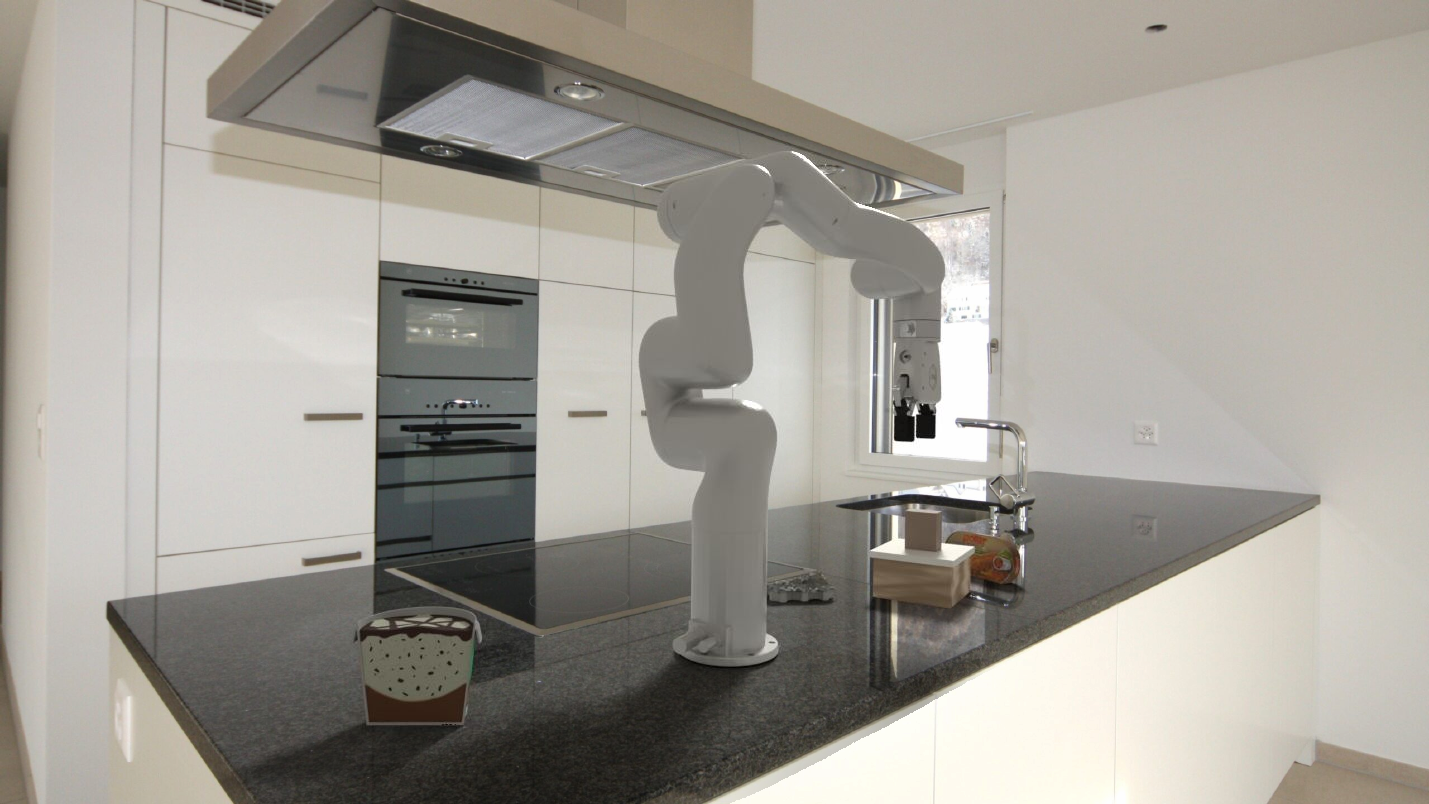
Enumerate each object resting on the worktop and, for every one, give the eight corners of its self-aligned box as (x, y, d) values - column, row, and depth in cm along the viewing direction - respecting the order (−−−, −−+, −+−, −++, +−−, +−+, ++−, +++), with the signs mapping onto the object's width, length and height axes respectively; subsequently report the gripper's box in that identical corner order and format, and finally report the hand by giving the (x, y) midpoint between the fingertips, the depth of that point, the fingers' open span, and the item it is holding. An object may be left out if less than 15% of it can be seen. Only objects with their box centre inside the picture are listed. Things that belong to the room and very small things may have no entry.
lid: (953, 567, 118) (954, 520, 118) (869, 557, 125) (870, 512, 125) (974, 552, 129) (975, 509, 129) (896, 544, 136) (896, 502, 136)
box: (950, 613, 119) (951, 566, 119) (872, 601, 125) (873, 557, 125) (970, 596, 129) (970, 553, 129) (897, 586, 136) (898, 544, 135)
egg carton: (823, 595, 130) (824, 570, 130) (838, 608, 123) (838, 581, 122) (759, 597, 128) (760, 571, 128) (770, 609, 121) (770, 582, 121)
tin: (941, 573, 146) (942, 527, 146) (953, 571, 147) (954, 526, 147) (1010, 592, 133) (1011, 541, 133) (1023, 589, 135) (1024, 539, 134)
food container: (494, 700, 84) (495, 605, 84) (479, 725, 78) (480, 622, 78) (375, 700, 84) (376, 604, 83) (350, 725, 77) (351, 622, 77)
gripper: (920, 329, 119) (919, 444, 120) (956, 335, 134) (955, 438, 134) (873, 330, 123) (871, 441, 124) (912, 337, 138) (911, 436, 138)
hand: (915, 439), depth 129 cm, fingers open, 9 cm apart
